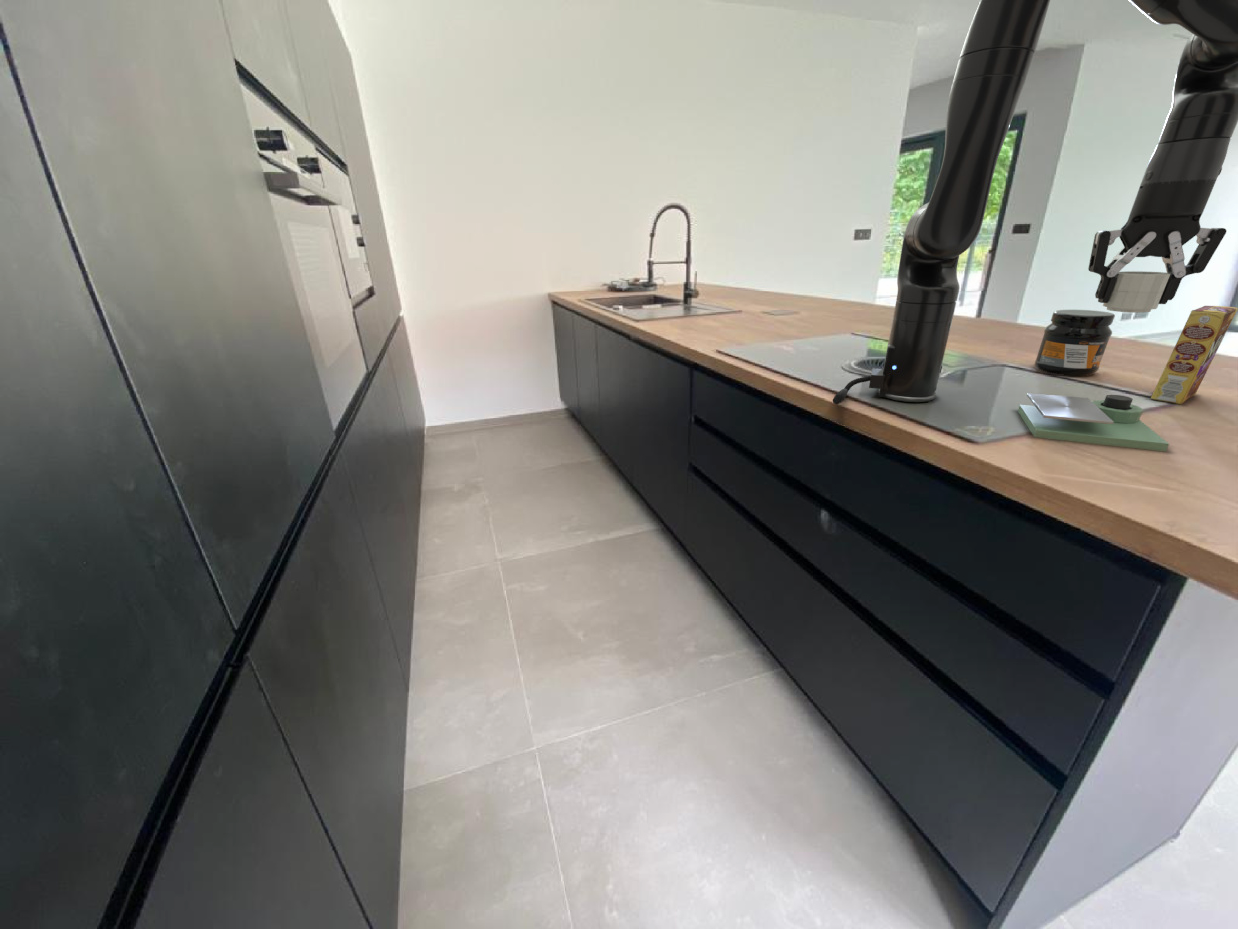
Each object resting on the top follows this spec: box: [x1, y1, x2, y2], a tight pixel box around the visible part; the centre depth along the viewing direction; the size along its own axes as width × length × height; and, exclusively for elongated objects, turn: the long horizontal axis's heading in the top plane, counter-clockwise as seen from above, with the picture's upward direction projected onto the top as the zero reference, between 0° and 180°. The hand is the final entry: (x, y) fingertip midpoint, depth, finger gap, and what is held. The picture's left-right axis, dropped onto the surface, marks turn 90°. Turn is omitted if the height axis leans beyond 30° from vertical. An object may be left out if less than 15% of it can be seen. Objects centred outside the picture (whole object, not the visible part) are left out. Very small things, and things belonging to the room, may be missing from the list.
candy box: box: [1150, 305, 1238, 405], centre depth 85 cm, size 9×4×15 cm, turn 123°
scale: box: [1017, 399, 1170, 452], centre depth 76 cm, size 14×14×3 cm
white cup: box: [1102, 270, 1171, 314], centre depth 77 cm, size 6×6×6 cm
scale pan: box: [1026, 392, 1114, 424], centre depth 77 cm, size 8×12×1 cm, turn 153°
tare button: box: [1103, 394, 1133, 410], centre depth 77 cm, size 3×3×2 cm
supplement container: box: [1034, 309, 1116, 377], centre depth 104 cm, size 10×10×12 cm
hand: (1130, 302), depth 78 cm, fingers closed on white cup, 6 cm apart
